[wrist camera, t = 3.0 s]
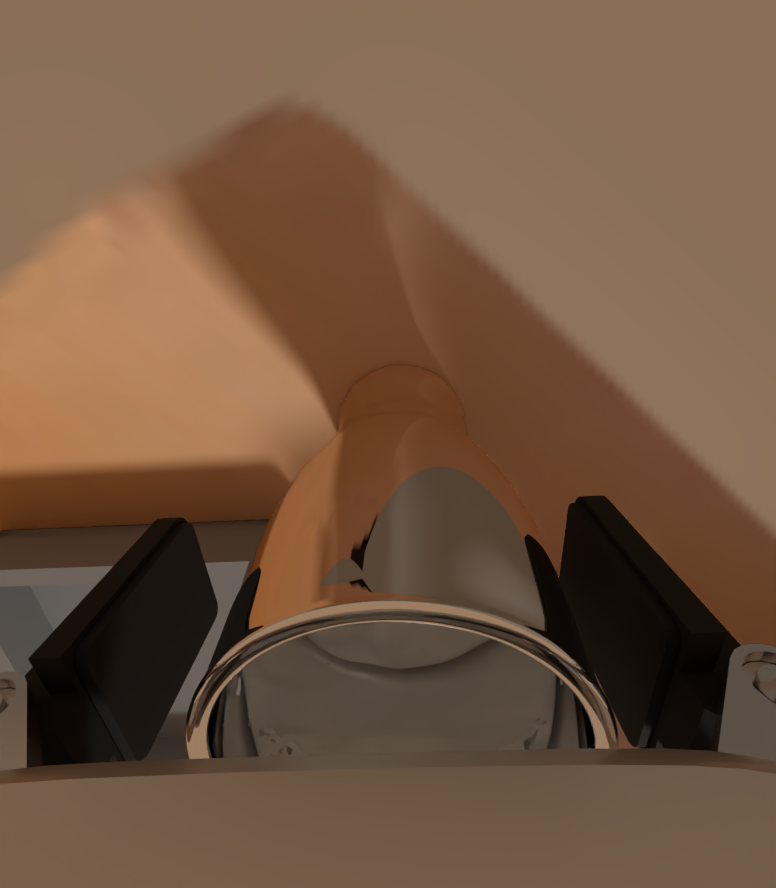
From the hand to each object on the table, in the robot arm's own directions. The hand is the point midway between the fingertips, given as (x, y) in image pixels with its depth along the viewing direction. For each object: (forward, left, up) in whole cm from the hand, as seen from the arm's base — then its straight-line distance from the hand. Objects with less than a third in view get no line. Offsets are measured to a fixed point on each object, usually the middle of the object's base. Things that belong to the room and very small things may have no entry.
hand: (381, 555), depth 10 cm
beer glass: (0, 0, -11) cm, 11 cm away
